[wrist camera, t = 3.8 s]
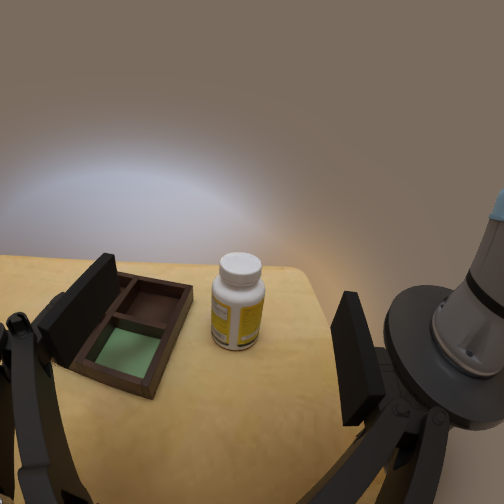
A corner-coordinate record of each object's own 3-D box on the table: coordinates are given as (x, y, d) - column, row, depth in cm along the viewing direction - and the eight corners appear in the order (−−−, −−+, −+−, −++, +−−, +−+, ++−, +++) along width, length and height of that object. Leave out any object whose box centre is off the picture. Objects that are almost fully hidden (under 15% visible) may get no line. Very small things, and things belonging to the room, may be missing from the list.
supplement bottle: (259, 321, 33) (271, 252, 28) (255, 355, 28) (268, 283, 24) (216, 315, 33) (218, 245, 28) (206, 347, 29) (206, 274, 24)
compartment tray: (193, 299, 35) (193, 285, 34) (152, 399, 22) (148, 387, 21) (95, 279, 36) (92, 265, 35) (36, 353, 22) (28, 339, 21)
